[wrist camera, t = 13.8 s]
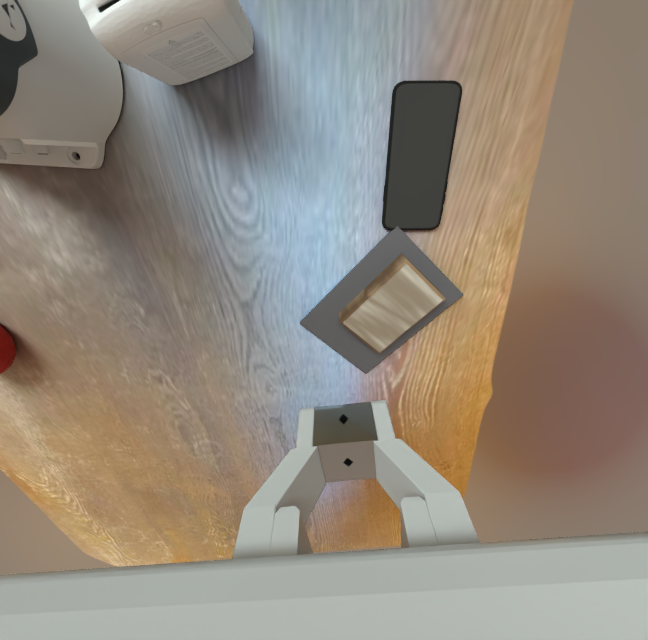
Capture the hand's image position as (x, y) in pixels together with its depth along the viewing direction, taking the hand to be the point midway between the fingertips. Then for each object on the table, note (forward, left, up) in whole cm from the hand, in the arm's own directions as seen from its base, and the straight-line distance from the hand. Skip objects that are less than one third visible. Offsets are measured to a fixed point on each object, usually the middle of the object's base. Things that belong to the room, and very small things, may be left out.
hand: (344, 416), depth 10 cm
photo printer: (-10, +19, -31) cm, 38 cm away
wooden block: (+2, -15, -29) cm, 33 cm away
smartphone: (+11, +6, -32) cm, 34 cm away
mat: (+6, -12, -31) cm, 34 cm away
